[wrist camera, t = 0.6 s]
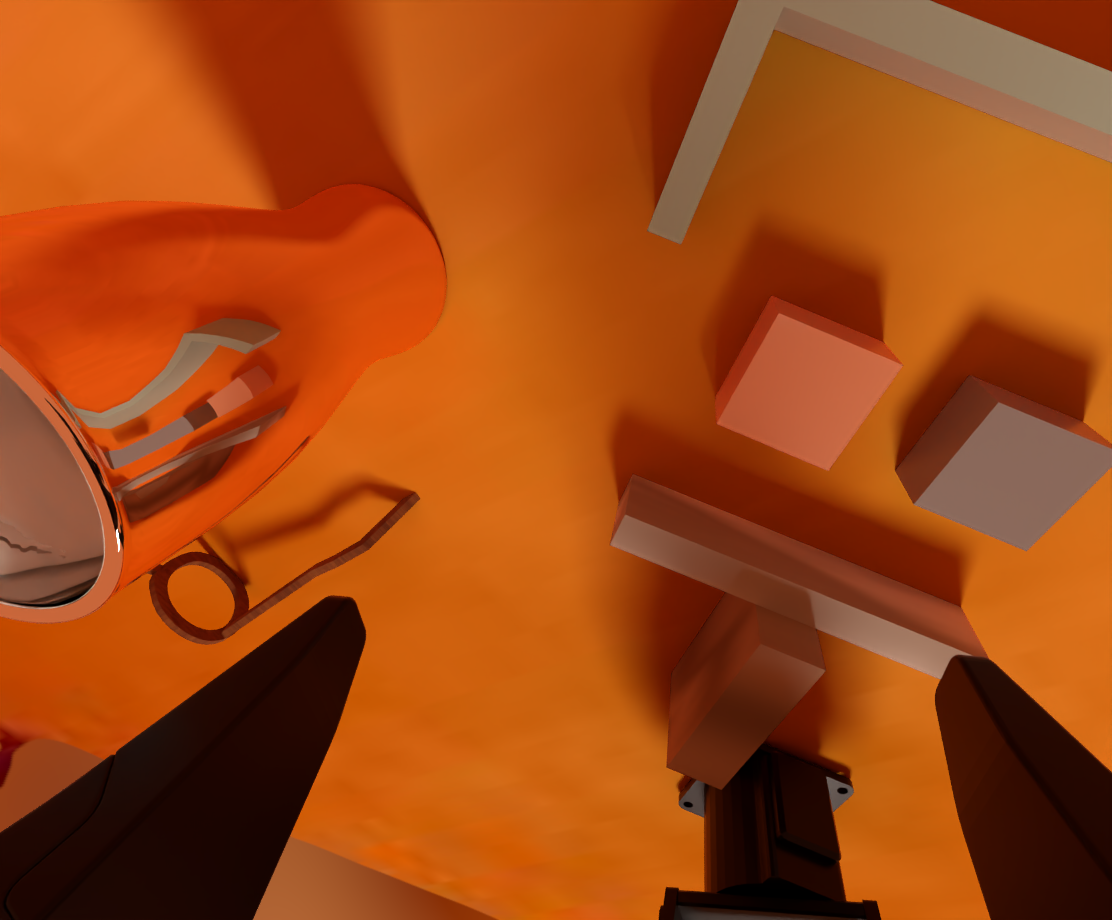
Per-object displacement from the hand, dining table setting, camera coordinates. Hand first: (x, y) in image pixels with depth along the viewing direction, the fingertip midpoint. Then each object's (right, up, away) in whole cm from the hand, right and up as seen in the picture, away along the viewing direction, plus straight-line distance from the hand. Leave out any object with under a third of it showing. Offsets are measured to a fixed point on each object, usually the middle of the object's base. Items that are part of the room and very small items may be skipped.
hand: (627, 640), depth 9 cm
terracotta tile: (+7, +6, +12) cm, 15 cm away
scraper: (+7, -4, +17) cm, 19 cm away
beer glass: (-8, +10, +13) cm, 18 cm away
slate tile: (+14, +3, +12) cm, 18 cm away
